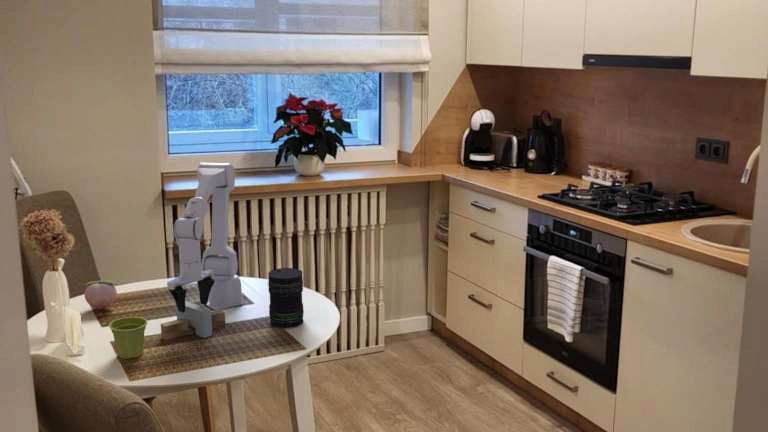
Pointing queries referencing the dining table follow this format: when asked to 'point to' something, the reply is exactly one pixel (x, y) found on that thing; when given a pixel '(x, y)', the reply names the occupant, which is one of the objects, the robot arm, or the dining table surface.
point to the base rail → (182, 328)
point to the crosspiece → (197, 318)
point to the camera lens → (285, 298)
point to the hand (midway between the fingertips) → (193, 307)
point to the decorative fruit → (100, 293)
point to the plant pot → (129, 336)
